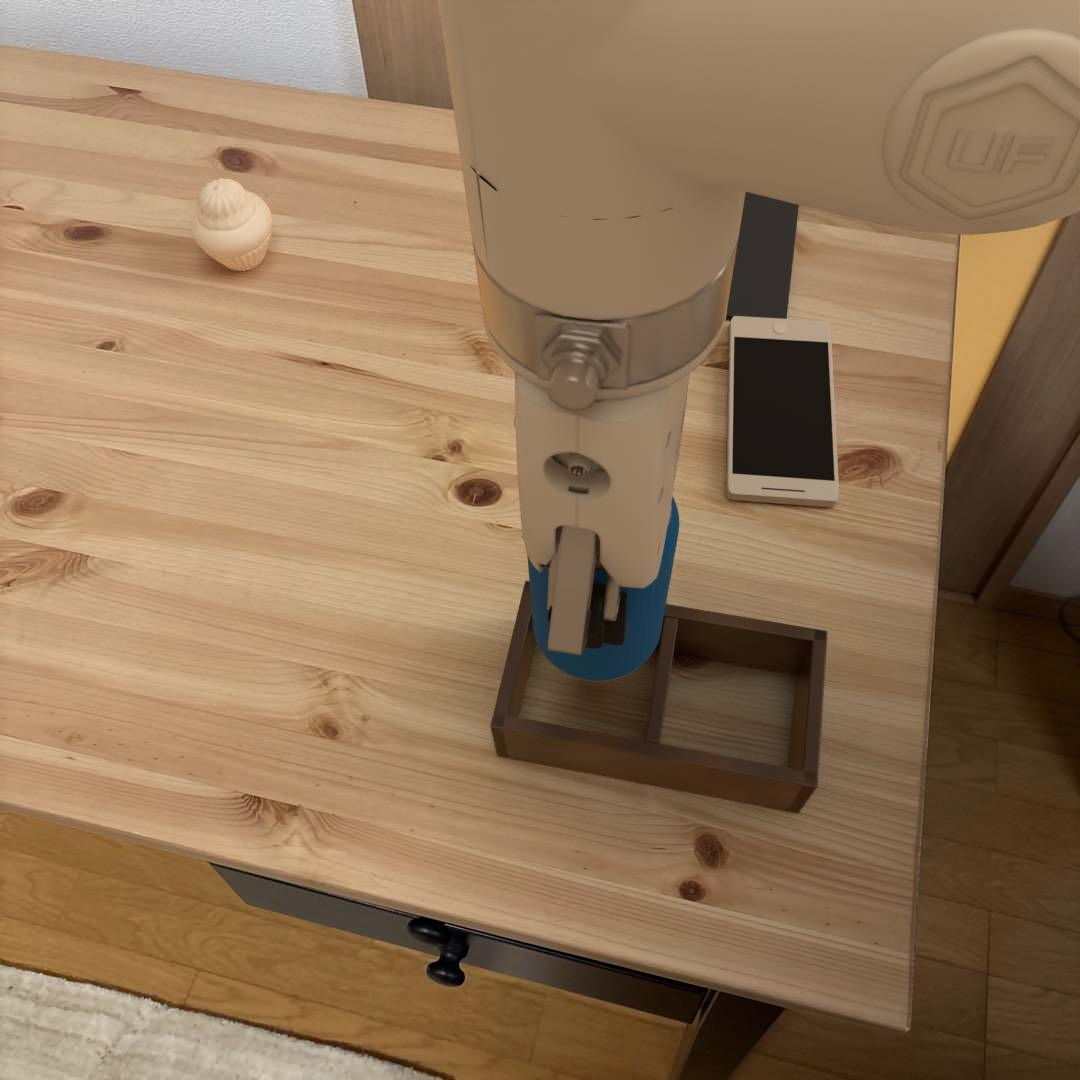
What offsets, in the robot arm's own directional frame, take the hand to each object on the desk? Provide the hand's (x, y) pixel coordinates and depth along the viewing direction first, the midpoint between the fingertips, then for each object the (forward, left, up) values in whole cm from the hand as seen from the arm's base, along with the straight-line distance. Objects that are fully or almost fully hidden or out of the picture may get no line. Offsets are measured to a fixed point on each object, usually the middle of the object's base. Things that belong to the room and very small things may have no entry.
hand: (602, 561), depth 45 cm
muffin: (+33, -31, -17) cm, 48 cm away
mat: (-2, -38, -17) cm, 41 cm away
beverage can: (0, 0, -7) cm, 7 cm away
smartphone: (-9, -23, -17) cm, 30 cm away
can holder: (-4, 0, -17) cm, 17 cm away
